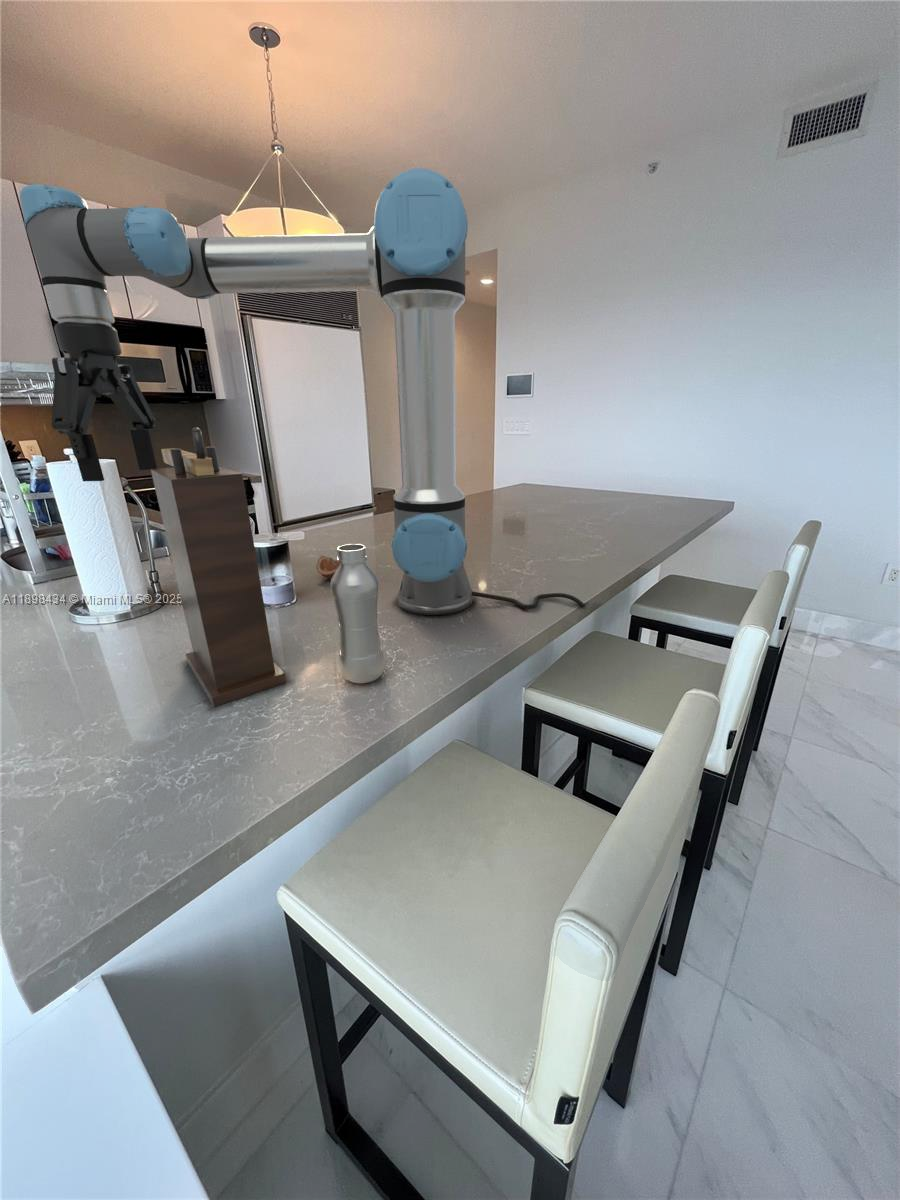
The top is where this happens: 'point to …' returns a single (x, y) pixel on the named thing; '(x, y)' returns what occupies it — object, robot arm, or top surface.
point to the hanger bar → (193, 457)
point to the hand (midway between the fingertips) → (123, 475)
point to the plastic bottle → (357, 616)
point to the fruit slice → (327, 566)
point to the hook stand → (217, 579)
